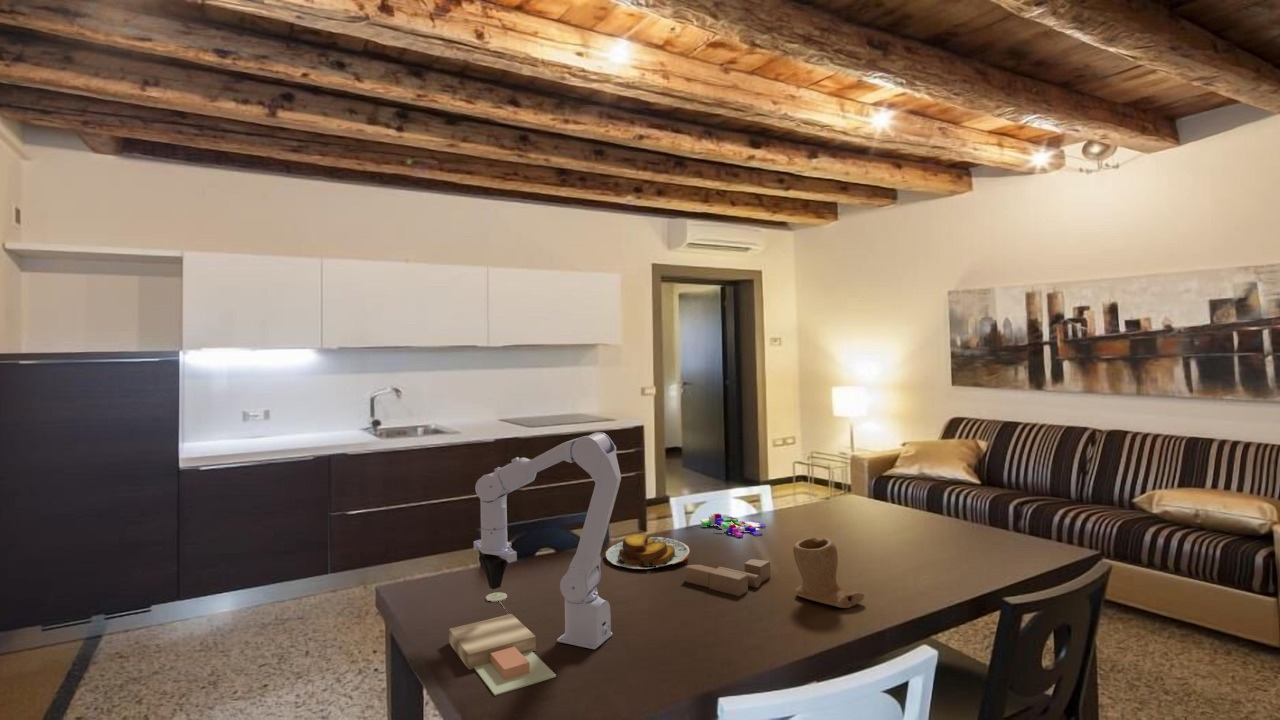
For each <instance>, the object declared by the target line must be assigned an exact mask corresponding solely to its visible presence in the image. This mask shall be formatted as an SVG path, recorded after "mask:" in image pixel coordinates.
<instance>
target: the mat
mask: <svg viewBox="0 0 1280 720" xmlns="http://www.w3.org/2000/svg"><path fill="white" fill-rule="evenodd" d="M522 655H523V656H524V657H525V658H526V659H527V660H528V661H529V662H530V673H527V674H524V675H521V676H517V677H514V678H511V679H507V680H504V679H503V678H502V677H501V675H500V674H499V673H498V672H497V670H496V669H495V668H494V667H493V666H492V664H491V663H487V664H483V665H480V666H476V667H474V669H473V670H475V671H476V673H477V674H478V675H479V677H480V678H481V679H482V681H483V683H484V684H485V685H486V686H487V687H488V688H489V690H490V691H491V693H492V694H493V696H494V697H495V696H499V695H502V694H505V693H508V692H512V691H515V690H518V689H521V688H525V687H528V686H531V685H535V684H538V683H541V682H544V681H547V680H550V679H553V678H556V677H557V674H556V673H555V672H553V670H552V669H551V668H550V667H549V666H548V665H547V664H546V663H545V662H544V661H543V660H542V659H541V658H540V657H539V656H538V655H536V654H535V652H532V651H529V652H526V653H522Z"/></svg>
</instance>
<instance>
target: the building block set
mask: <svg viewBox="0 0 1280 720" xmlns="http://www.w3.org/2000/svg"><path fill="white" fill-rule="evenodd" d="M699 521H700V523H701V524H700V525H703V526H707V525H712V524H717V525H719V526H720V527H722V528H723V529H727V532H728V533H732V534H734V535H735V536H737V537H743V538H744V531H750V532H751V533H753V534H755V535H758V534H762V535H763V533H762V532H760V531H756V530H761V528H755V527H767V526H766V524H765V523H761V522H760V521H757V520H749V521H750V522H749V521H743V520H739V518H737V517H732V516H727V517H726V518H722V514H721V513H711V514H710V515H708V518H702V519H699ZM731 521H732V522H733V523H734V524H733V525H731V524H729V523H726V522H731ZM745 524H747V525H745ZM735 525H737V526H735ZM764 525H765V526H764ZM707 527H708V526H707ZM727 532H726V533H727ZM735 536H734V537H735ZM737 537H736V538H737Z"/></svg>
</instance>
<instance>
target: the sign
mask: <svg viewBox="0 0 1280 720" xmlns="http://www.w3.org/2000/svg"><path fill="white" fill-rule="evenodd" d="M506 598H507V599H508V594H507V593H505V592H500V591H499V592H493V593H489V594H487V595H486V596H485V601H486V602H488V601H491V602H490V603H499V605H500V604H501V605H502V606H503V607H502V606H501V605H500V606H501V607H502V609H503V608H504V609H506V608H505V606H504V605H503V603H502V602H503V601H505V600H507V599H506ZM502 600H503V601H502ZM498 601H499V602H498ZM504 609H503V610H504ZM508 613H509V612H508ZM508 613H506V615H509V614H510V613H509V614H508Z"/></svg>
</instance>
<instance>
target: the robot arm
mask: <svg viewBox="0 0 1280 720" xmlns="http://www.w3.org/2000/svg"><path fill="white" fill-rule="evenodd" d="M510 461H511V463H508V464H506V465H504V466H502V467H500V466H498V467H496V468H494V469H493V472H490V473H488V474H483V475H482V476H481V477H480V478H478V480H477V481H476V483H475V487H474V488H475V489H474V490H475V493H476V495H477V497H478V498H479V500H480V538H481V539H477V540H474V541H473V550H474V551H480V553H481V554H483V555H481V556H479V557H478V560H479V562H480V564H481V566H482V567H483V569H484V572H485V576H486V579H487V583H488V586H489V587H488V588H489V589H492V590H496V589H499V588H501V586H502V583H503V578H504V575H505V571H506V568H507V565H508V563H509V564H510V563H514V562H517V561H518V559H517V558H518V555H517V553H518V552H517V551H516V550H514V549H513V548H512V542H509V541H508V512H507V511H508V507H507V505H508V503H507V501H508V500H507V499H508V494H509V493H512V492H514V491H516V490H519V488H522V487H524V486H527V485H528V484H530V483H532V482H534V481H535V479H536V477H537V473H539V472H541V471H543V470H545V469H547V468H549V467H552V466H554V465H556V464H559V463H561V462H563V461H564V462H567V463H571V464H572V463H576V464H577V465H578V466H579V467H580V468H581V469H583V470H584V471H585V472H586V473H588V474H589V476H590V477H591V478H592V480H593V481H594V488H593V492H592V495H591V498H590V502H589V506H588V510H587V513H586V517H585V519H584V520H585V521H584V524H583V527H582V531H581V535H580V538H579V542H578V545H577V548H576V552H575V554H574V556H573V558H572V560H571V562H570V564H569V567H568V569H567V572H566V573H565V574H564V575H563V576H562V578H561V579H560V583H559V589H560V590H559V591H560V593H561V594H562V596H563V598H564V628H565V629H564V634H561V636H560V637H558V638H557V639H556V641H557V642H558V643H562V644H568V645H573V646H577V647H579V648H580V647H581V648H587V649H590V650H597V649H598V647H600V646H601V645H602V644H604V642H605V641H607V640H608V639H609V638H610V637H612V636H613V632H612V627H611V626H612V625H611V623H612V621H611V620H612V619H611V618H612V617H611V616H612V615H611V605H610V603H609V601H608V600H605V599H603V598H602V597H600V596H599V592H598V588H597V585H598V584H599V583H600V581H601V579H602V577H601V576H602V571H601V562H602V557H601V552H602V549H603V545H604V540H605V538H606V535H607V530H608V526H609V523H610V519H611V517H612V513H613V510H614V506H615V502H616V499H617V495H618V492H619V488H620V484H621V480H622V475H621V471H620V466H619V462H618V457H617V446H616V445H615V444H614V442H613V440H612V439H611V437H610V436H609V435H608V434H606V433H605V432H601V431H596V432H593V433H591V434H589V435H584V436H581V437H577V438H574V439H571V440H568V441H565V442H562V443H561V444H558V445H556V446H555V447H553V448H551V449H549V450H547V451H545V452H544V453H541V454H539V455H538V456H535V457H534V458H532V459H530V458H527V457H519V456H516V457H514V458H512V459H511V460H510Z"/></svg>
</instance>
